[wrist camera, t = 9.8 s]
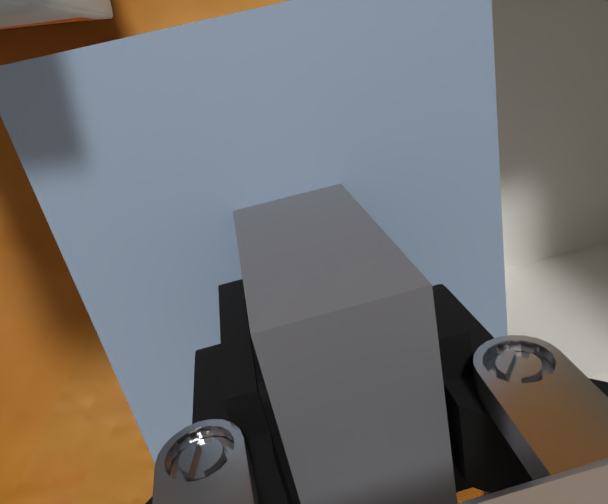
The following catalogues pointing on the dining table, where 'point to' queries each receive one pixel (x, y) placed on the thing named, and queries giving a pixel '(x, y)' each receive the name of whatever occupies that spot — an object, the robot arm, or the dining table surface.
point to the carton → (555, 172)
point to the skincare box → (51, 12)
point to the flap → (282, 217)
